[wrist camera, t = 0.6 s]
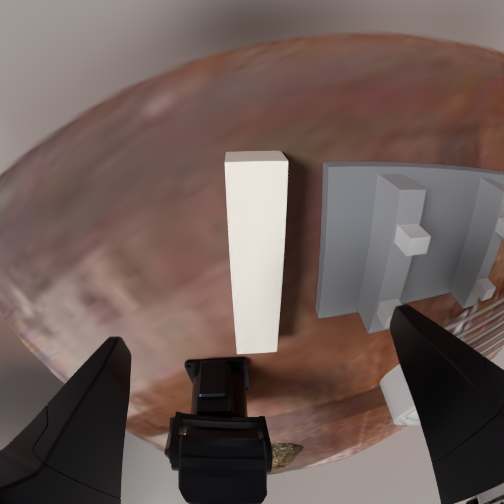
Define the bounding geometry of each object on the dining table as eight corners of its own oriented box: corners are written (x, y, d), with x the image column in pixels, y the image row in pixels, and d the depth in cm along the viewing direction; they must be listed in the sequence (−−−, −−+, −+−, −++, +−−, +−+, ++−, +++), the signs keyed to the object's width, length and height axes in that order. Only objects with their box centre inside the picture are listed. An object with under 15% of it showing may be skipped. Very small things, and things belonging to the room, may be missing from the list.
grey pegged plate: (503, 171, 17) (543, 196, 12) (472, 278, 24) (499, 311, 19) (322, 162, 17) (358, 193, 12) (315, 309, 24) (331, 360, 19)
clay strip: (272, 326, 26) (276, 351, 23) (236, 328, 25) (237, 354, 23) (279, 149, 17) (288, 161, 14) (226, 151, 17) (224, 162, 14)
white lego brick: (439, 371, 36) (458, 410, 29) (374, 396, 37) (389, 441, 29) (459, 334, 30) (486, 378, 23) (386, 363, 31) (408, 417, 24)
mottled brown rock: (239, 457, 51) (240, 475, 46) (243, 443, 44) (244, 465, 40) (293, 454, 52) (296, 472, 48) (307, 438, 45) (310, 459, 41)
